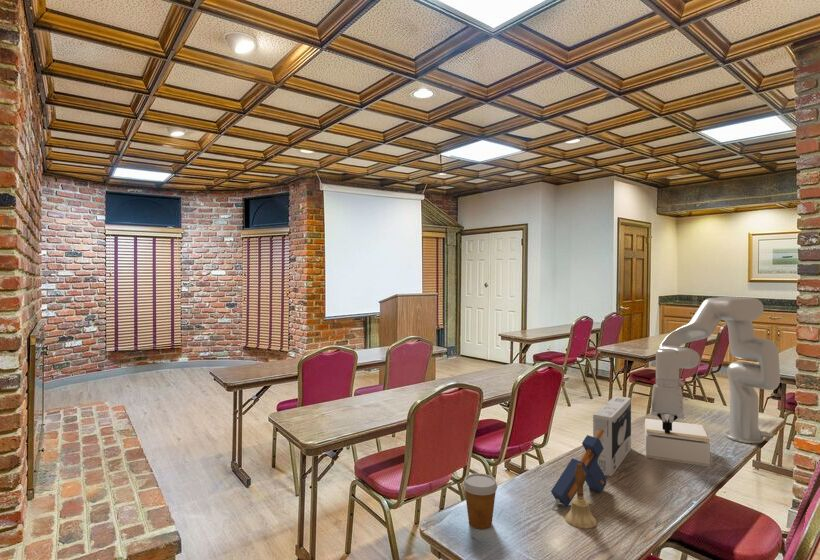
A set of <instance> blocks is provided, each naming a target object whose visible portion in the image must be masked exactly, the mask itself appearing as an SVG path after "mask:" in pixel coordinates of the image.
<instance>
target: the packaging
mask: <svg viewBox="0 0 820 560" xmlns="http://www.w3.org/2000/svg"><path fill="white" fill-rule="evenodd" d="M592 428H593V429H592V430H593V431H592V433H593V434H592V437H595V436H596V435H597V433H598V432H599V430H600V429H602V430H603V431H604V433H603V434H602V436H601V438H600V439H599V440H600V442H601V444H602V446H603V448H604V449H603V451H602V452H601V454H600V456H599V458H598V465H599V467H600V469H601V470H602V472H603V473H604V474H605V476H608V475H609V476H608V477H612V476H613V475H614V474H615V472H616V471H617V470H618V468H619V467H620V466H621V464H622V463H623V461H624V460H625V458H626V457H627V456H628V454H629V453H630V451H631V450H632V398H631V397H626V396H621V395H620V396H619V395H614V396H613V397H612V398H610V399H609V401H607V402H606V404H604V405H603V406H601V407H600V408H599V409H598V410H597V411H596V412H595V413H594V414H593V415H592Z"/></svg>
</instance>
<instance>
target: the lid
mask: <svg viewBox="0 0 820 560" xmlns="http://www.w3.org/2000/svg"><path fill="white" fill-rule="evenodd" d="M645 423H646V431H647V434H648V435H656V436H664V437H672V438H679V439H687V440H695V441H703V442H709V443H710V438H709V436H708V435H707V433H706V431H705V429H704V426H703V425H702V424H698V423H697V424H696V423H694V424H693V423H689V422H688V423H687V422H678V421H673V423H672V431H670V434H669V433H668V432H667V433H665V430H663V421H662V420H661V419H653V418H652V419H651V418H645V421H644V424H645Z"/></svg>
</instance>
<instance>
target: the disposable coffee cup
mask: <svg viewBox="0 0 820 560" xmlns="http://www.w3.org/2000/svg"><path fill="white" fill-rule="evenodd" d="M462 487H463V489H464V494H465V501H466V509H467V516H468V523H469V525H470V526H471V528H474V529H478V530H486V529H489V528H491V527H492V524H493V516H494V508H495V501H496V494H497V493H496V492H497V489H498V488H499V487H498V483H497V481H496V478H495V477H494V476H493V475H489V474H486V473H480V472H476V473H471V474H468V475H466V476H465V477H464V480H463V482H462Z"/></svg>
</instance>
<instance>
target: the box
mask: <svg viewBox="0 0 820 560" xmlns="http://www.w3.org/2000/svg"><path fill="white" fill-rule="evenodd" d="M644 446H645V447H644V448H645V456H646V458H648V459H649V458H650V459H654V460H661V461H666V462H667V461H669V462H675V463H682V464H689V465H693V466H703V467H708V468H709V467H711V443H710V441H709V442H703V441H695V440H687V439H679V438H672V437H664V436H656V435H648V434H647V431H646V423H645V422H644Z"/></svg>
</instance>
